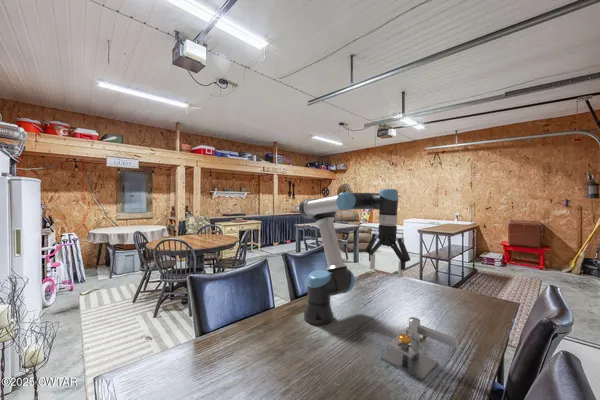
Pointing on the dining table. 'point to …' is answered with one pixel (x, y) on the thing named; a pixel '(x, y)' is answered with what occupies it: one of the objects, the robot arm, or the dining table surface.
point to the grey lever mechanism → (416, 350)
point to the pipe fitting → (422, 337)
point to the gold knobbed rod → (405, 341)
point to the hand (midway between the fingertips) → (385, 272)
